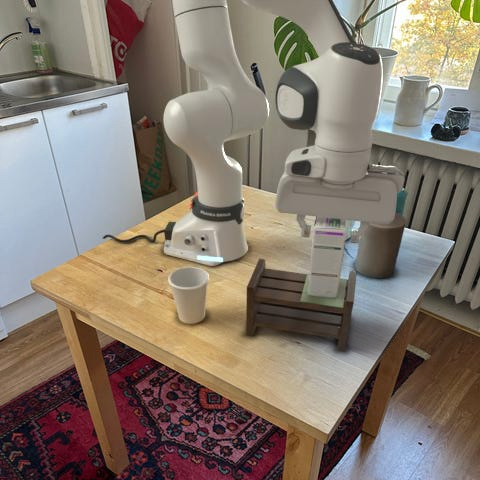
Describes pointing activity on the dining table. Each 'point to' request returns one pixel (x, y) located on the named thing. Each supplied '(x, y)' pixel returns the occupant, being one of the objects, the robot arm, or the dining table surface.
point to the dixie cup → (189, 293)
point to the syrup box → (326, 257)
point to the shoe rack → (297, 304)
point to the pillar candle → (380, 248)
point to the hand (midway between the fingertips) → (329, 238)
